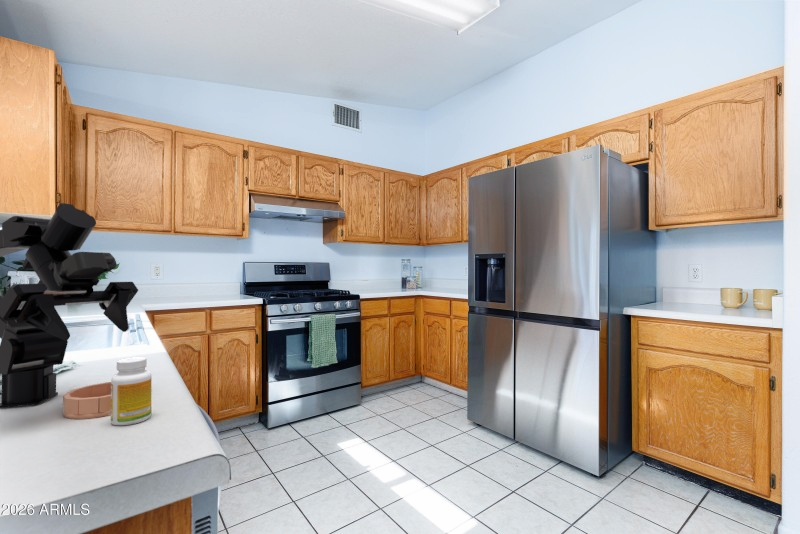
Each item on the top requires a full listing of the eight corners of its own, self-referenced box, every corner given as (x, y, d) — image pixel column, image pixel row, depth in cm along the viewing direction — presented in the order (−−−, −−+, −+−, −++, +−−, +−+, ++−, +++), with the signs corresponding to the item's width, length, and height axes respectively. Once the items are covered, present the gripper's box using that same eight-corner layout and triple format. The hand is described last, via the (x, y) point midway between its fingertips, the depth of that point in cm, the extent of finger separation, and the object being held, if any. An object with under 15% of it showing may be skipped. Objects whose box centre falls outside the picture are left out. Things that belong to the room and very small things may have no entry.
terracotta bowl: (49, 422, 61) (49, 402, 61) (82, 401, 72) (83, 384, 72) (126, 414, 64) (126, 395, 64) (148, 395, 75) (148, 379, 75)
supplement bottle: (159, 415, 64) (159, 357, 64) (126, 428, 59) (127, 364, 59) (135, 412, 66) (136, 355, 66) (102, 424, 61) (103, 362, 61)
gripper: (10, 231, 59) (55, 305, 55) (131, 240, 76) (173, 297, 72) (-21, 282, 61) (21, 357, 57) (104, 280, 79) (142, 337, 75)
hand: (98, 333), depth 65 cm, fingers open, 9 cm apart
